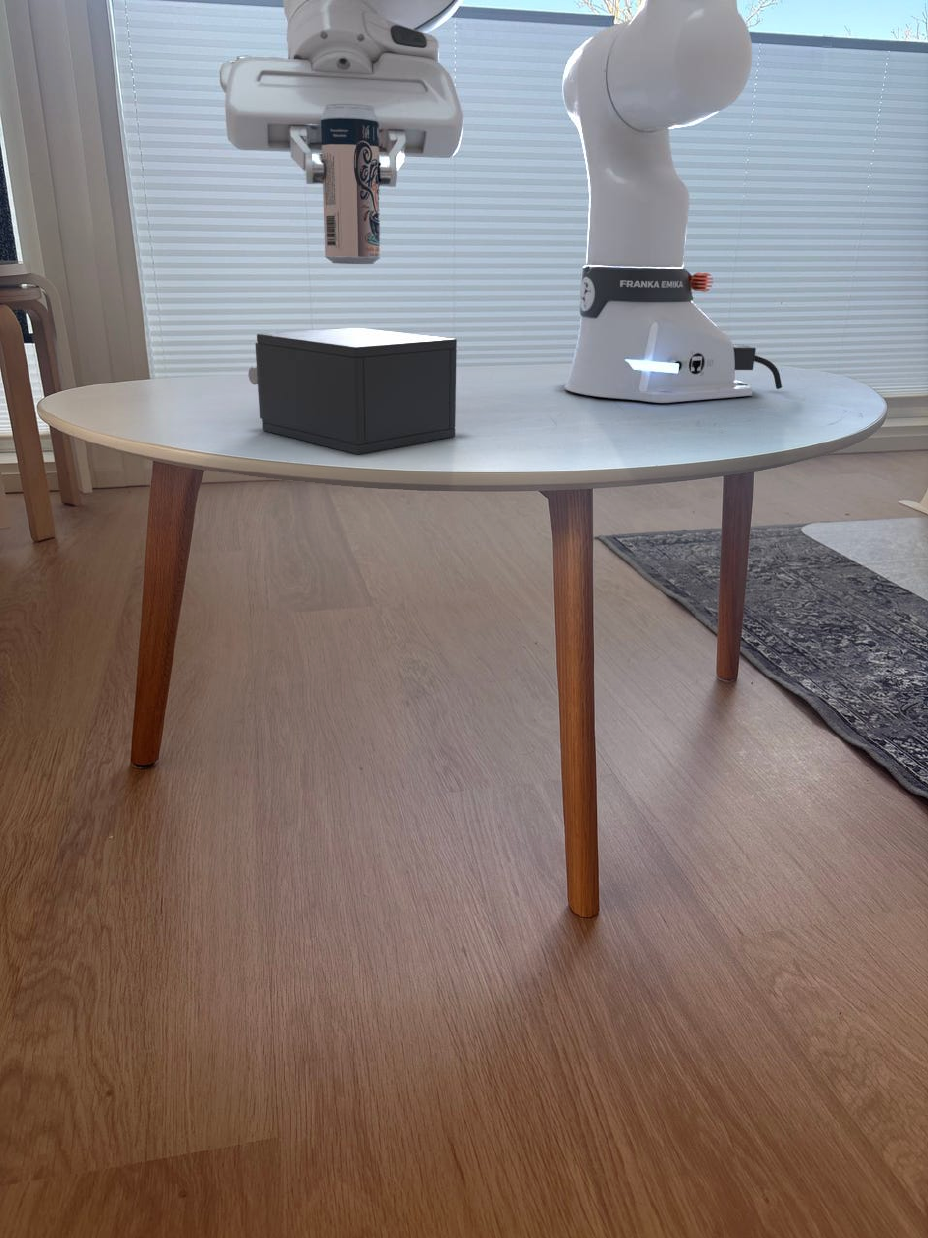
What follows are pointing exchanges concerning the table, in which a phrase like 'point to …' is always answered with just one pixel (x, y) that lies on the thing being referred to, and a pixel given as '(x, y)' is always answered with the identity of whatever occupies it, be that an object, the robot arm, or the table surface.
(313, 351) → the dark grey storage box
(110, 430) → the table surface
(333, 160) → the beer can
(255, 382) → the drawer
